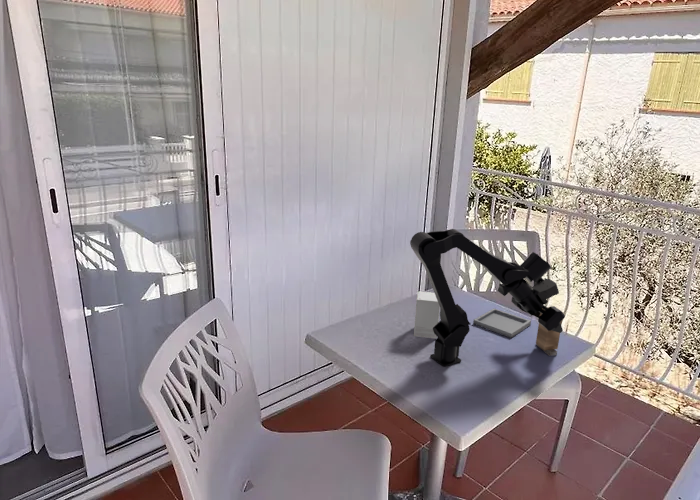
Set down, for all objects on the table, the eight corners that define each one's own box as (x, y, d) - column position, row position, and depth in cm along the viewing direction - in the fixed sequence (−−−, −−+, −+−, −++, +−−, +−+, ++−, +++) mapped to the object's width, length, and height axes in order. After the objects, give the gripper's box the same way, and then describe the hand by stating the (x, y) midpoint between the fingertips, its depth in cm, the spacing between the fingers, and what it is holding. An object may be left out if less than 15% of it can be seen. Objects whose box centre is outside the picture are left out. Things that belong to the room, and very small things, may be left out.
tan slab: (546, 356, 142) (552, 315, 139) (532, 344, 149) (538, 305, 145) (559, 354, 143) (566, 314, 139) (545, 343, 150) (551, 304, 146)
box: (511, 338, 153) (511, 333, 152) (473, 323, 162) (473, 319, 161) (530, 324, 162) (531, 320, 162) (493, 312, 171) (494, 308, 171)
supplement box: (437, 339, 151) (440, 302, 147) (413, 336, 152) (415, 299, 149) (437, 328, 158) (440, 292, 154) (415, 326, 159) (417, 290, 156)
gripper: (563, 284, 129) (593, 319, 135) (525, 261, 146) (552, 293, 152) (533, 313, 130) (563, 347, 135) (498, 288, 147) (526, 318, 153)
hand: (551, 324), depth 144 cm, fingers open, 9 cm apart
